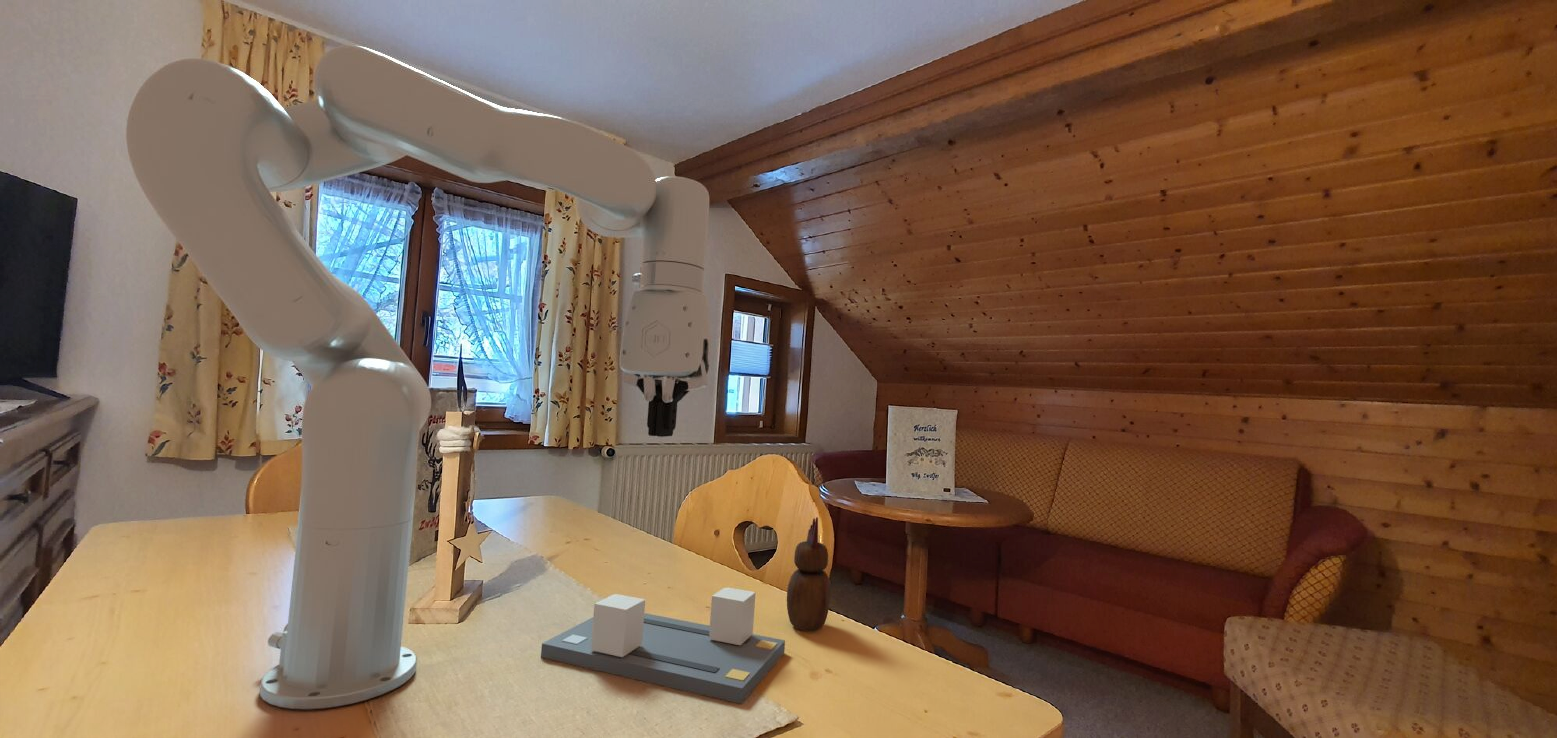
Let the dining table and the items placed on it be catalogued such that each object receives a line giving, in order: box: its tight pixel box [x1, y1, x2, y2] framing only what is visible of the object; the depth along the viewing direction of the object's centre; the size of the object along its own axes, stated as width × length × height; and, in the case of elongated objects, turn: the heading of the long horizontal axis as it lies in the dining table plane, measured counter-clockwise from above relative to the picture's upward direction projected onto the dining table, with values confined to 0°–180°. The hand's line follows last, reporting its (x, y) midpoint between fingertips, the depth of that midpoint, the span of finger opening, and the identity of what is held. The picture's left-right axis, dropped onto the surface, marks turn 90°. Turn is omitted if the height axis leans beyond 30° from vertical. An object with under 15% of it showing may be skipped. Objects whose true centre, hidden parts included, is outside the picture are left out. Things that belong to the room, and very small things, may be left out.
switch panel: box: [540, 612, 786, 704], centre depth 73 cm, size 24×14×2 cm, turn 72°
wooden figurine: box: [786, 516, 832, 632], centre depth 85 cm, size 7×6×15 cm
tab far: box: [709, 586, 756, 645], centre depth 75 cm, size 4×4×5 cm
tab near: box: [591, 593, 646, 657], centre depth 70 cm, size 4×4×5 cm
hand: (660, 435), depth 75 cm, fingers closed
